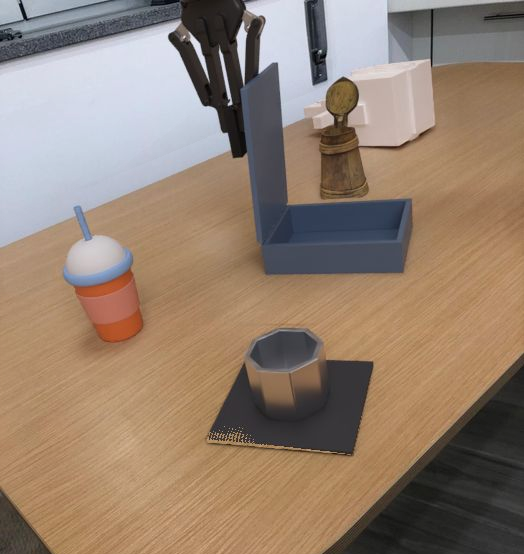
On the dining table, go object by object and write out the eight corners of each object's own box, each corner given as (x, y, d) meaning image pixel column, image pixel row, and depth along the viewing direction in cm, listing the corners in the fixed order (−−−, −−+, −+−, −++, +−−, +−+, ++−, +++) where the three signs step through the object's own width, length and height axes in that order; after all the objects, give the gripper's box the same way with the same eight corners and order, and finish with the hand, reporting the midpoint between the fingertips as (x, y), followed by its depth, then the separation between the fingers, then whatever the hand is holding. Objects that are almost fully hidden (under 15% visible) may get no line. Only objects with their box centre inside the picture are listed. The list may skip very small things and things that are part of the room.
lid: (278, 62, 83) (272, 62, 84) (246, 89, 72) (240, 89, 73) (288, 202, 95) (283, 201, 96) (262, 243, 84) (256, 243, 85)
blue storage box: (412, 230, 92) (411, 198, 89) (403, 277, 81) (401, 242, 78) (290, 235, 99) (286, 204, 96) (266, 279, 88) (260, 246, 85)
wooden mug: (375, 172, 116) (368, 72, 105) (364, 200, 105) (356, 92, 95) (329, 175, 118) (319, 78, 108) (315, 203, 108) (302, 99, 98)
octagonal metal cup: (334, 377, 65) (328, 328, 62) (320, 425, 59) (312, 373, 56) (268, 374, 68) (258, 327, 64) (248, 420, 62) (236, 370, 58)
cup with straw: (78, 350, 80) (26, 226, 70) (103, 314, 88) (59, 196, 77) (141, 347, 78) (97, 218, 68) (161, 310, 86) (124, 188, 75)
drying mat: (373, 365, 67) (373, 361, 66) (353, 456, 56) (352, 451, 56) (247, 360, 72) (246, 356, 71) (206, 443, 61) (205, 439, 61)
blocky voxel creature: (351, 123, 152) (451, 120, 133) (286, 156, 139) (386, 158, 120) (342, 60, 144) (447, 48, 125) (272, 89, 132) (377, 80, 112)
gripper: (141, -27, 71) (189, 167, 85) (243, -49, 67) (277, 160, 80) (166, -34, 77) (207, 149, 90) (262, -54, 73) (291, 142, 86)
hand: (240, 154), depth 85 cm, fingers closed
